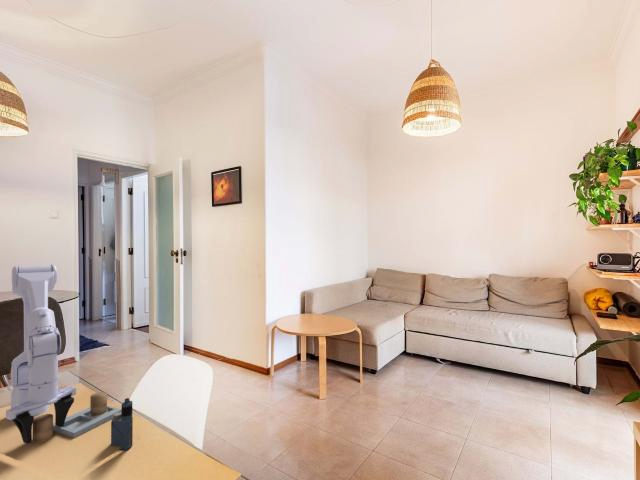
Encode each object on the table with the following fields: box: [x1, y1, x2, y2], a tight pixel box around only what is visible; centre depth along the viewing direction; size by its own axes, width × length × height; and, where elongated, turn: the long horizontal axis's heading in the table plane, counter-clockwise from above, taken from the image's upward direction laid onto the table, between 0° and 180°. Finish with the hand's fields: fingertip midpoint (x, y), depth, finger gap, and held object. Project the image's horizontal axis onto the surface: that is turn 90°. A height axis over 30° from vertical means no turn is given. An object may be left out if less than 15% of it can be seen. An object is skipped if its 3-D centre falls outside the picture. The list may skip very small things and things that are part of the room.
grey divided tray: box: [53, 404, 122, 439], centre depth 92 cm, size 10×13×2 cm
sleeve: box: [31, 413, 54, 444], centre depth 84 cm, size 4×4×6 cm
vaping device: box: [110, 397, 134, 452], centre depth 82 cm, size 3×5×12 cm, turn 78°
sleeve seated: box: [89, 391, 108, 418], centre depth 95 cm, size 4×4×6 cm
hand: (43, 434), depth 84 cm, fingers open, 6 cm apart
